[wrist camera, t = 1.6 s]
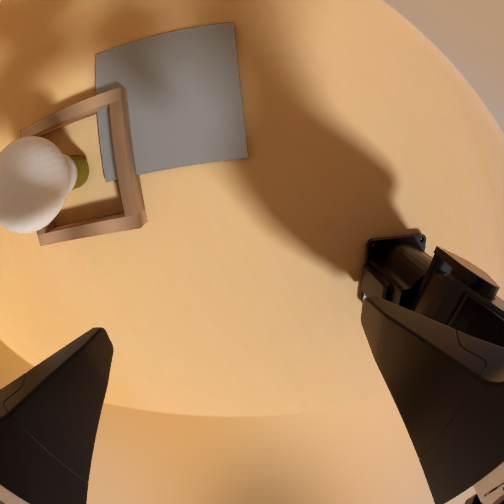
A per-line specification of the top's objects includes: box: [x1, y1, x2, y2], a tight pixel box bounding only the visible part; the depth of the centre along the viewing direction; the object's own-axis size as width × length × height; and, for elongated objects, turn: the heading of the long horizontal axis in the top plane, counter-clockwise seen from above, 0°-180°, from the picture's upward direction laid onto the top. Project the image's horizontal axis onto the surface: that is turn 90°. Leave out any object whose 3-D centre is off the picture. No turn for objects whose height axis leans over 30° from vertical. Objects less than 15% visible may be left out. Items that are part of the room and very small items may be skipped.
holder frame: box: [21, 87, 147, 246], centre depth 17 cm, size 10×10×2 cm
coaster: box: [96, 22, 248, 182], centre depth 16 cm, size 11×11×1 cm
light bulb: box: [0, 136, 89, 234], centre depth 13 cm, size 6×6×10 cm
